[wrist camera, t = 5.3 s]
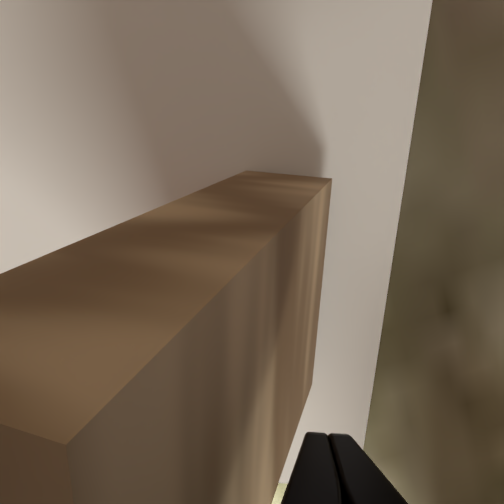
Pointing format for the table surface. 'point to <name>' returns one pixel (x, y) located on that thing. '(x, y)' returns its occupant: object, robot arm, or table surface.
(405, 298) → the table surface
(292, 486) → the robot arm
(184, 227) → the oak tile
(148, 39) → the grey rubber mat
